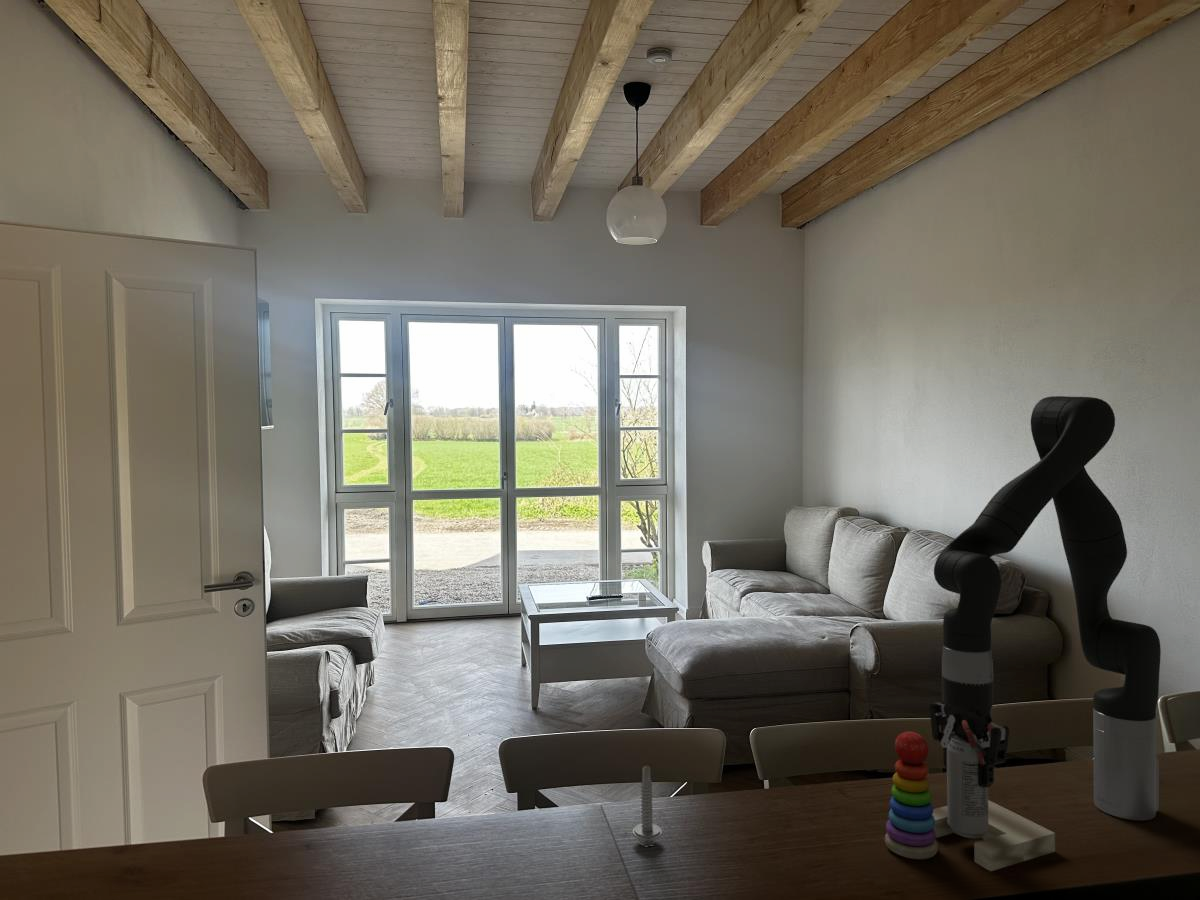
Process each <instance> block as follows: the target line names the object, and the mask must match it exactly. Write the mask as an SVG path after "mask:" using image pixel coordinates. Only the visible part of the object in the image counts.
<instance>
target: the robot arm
mask: <svg viewBox="0 0 1200 900" xmlns="http://www.w3.org/2000/svg"><path fill="white" fill-rule="evenodd" d="M1115 426H1116V416H1115V413H1114V410H1113V408H1112V407H1111V405H1110V404H1109V403H1108V402H1107V401H1105V400H1103V399H1101V398H1096V397H1092V396H1065V395H1063V396H1062V395H1060V396H1059V395H1055V396H1053V395H1052V396H1046V397H1044V398H1042V399H1040V400H1039V401H1038V402H1037V403H1035V406H1034V407H1033V409H1032V412H1031V417H1030V430H1031V435H1032V439H1033V442H1034V443H1033V444H1034V446H1035V448H1036V451H1037V455H1038V457H1039V459H1040V460H1039V461H1037V462H1036V463H1035V464H1034V465H1032V466H1031V467H1029V468H1027V470H1025V471H1024V472H1022V473H1021V474H1019V475H1018V476H1016V477H1015V478H1013V479H1012V480H1009V482H1007V483H1006V484H1005V485H1004V486H1002V487H1001V488H1000V489H998V490H997V492H996V493H995V494H994V495H993V496H992V497H991V499H990V500H989V501H988V502H987V504H986V505H985V506H984V508H983V509H982V511H981V512H980V513H979V515H978V517H977V518H976V520H975V521H974V522H973V523H972V524H971V525H970V526H968V527H967V528H966V529H965V530H963V531H962V532H961V533H960V534H959V535H958V536H957V537H955V538H954V539H953V540H952V541H951V542H950V543H948V544H947V545H946V546H945V547H944V548H943V549H942V551H941V552H940V553H939V555H938V556H937V558H936V561H935V563H934V567H933V575H934V576H933V577H934V579H935V581H936V583H937V584H938V585H939V586H940V587H941V588H943V589H944V590H946V591H949V592H952V593H955V594H958V595H959V600H958V605H957V607H956V608H955V607H954V608H951V609H948V610H947V611H946V612H945V613H944V616H943V620H942V623H943V625H942V628H943V629H942V632H943V633H942V634H943V635H942V637H943V638H942V642H943V646H942V655H941V699H942V701H940V702H938V701H937V702H933V703H931V704H929V707H928V708H929V715H930V725H931V733H932V738H933V740H934V741H938V742H939V743H940V745H941V747H942V748H943V764H944V769H945V771H947V745H948V743H949V742H950V740H951V735H957V736H960V737H964V738H965V739H967V740H969V742H970V745H971V748H972V749H973V750H975V752H976V755H977V758H978V760H979V763H978V785H979V786H980V787H982V788H986V787H988V788H989V787H992V785H993V784H994V782H995V773H994V772H995V767H994V766H995V765H998V764H1004V763H1006V761H1007V753H1008V745H1009V738H1010V737H1009V736H1010V729H1009V727H1008V726H1007V725H1001V726H1000V725H999V724H997V723H995V722H994V721H993V719H992V715H991V710H992V708H993V706H994V662H993V655H992V628H991V625H992V621H993V618H994V615H995V611H996V608H997V604H998V600H999V597H1000V592H1001V588H1002V576H1001V572H1000V568H999V565H997V563H996V562H995V560H994V559H993V558H992V557H994V556H997V555H1001V554H1007V553H1009V552H1011V551H1012V550H1014V549H1015V547H1016V545H1018V544H1019V542H1020V541H1021V539H1022V538H1023V536H1024V535H1025V533H1027V531H1028V529H1029V528H1030V526H1031V525H1032V524H1033V522H1035V519H1036V518H1037V517H1038V516H1039V515H1040V512H1042V510H1043V509H1044V508H1045V507H1046V506H1047V505H1048V503H1050V501H1051V500H1052V501H1053V504H1054V509H1055V512H1056V517H1057V522H1058V528H1059V532H1060V536H1061V537H1060V538H1061V541H1062V544H1063V545H1062V546H1063V550H1064V554H1065V557H1066V558H1065V559H1066V560H1067V564H1068V569H1069V573H1070V578H1071V583H1072V587H1073V592H1074V599H1075V605H1076V613H1077V622H1078V631H1079V638H1080V639H1079V641H1080V645H1081V649H1082V652H1083V656H1084V657H1085V660H1086V661H1087V662H1088V663H1089V665H1090V666H1092V667H1095V668H1097V669H1100V670H1103V671H1106V672H1110V673H1111V672H1112V673H1115V674H1116V673H1117V674H1120V675H1125V677H1124V683H1123V686H1120V687H1106V688H1102V689H1098V690H1096V691H1095V692H1094V693H1093V698H1092V703H1093V704H1092V707H1093V708H1092V709H1093V710H1092V712H1093V713H1092V718H1093V719H1092V721H1093V723H1092V724H1093V727H1092V728H1093V732H1092V734H1093V739H1092V740H1093V804H1094V806H1095V807H1096V808H1097V809H1099V810H1100V811H1102V812H1104V813H1106V814H1108V815H1111V816H1113V817H1116V818H1120V819H1123V820H1125V819H1126V820H1130V821H1149V820H1153V819H1154V818H1156V816H1157V812H1159V811H1160V803H1159V802H1160V798H1159V797H1160V796H1159V795H1160V793H1159V792H1160V791H1159V789H1160V787H1159V786H1160V785H1159V783H1160V782H1159V779H1160V776H1159V773H1160V771H1159V767H1160V766H1159V763H1160V761H1159V760H1160V759H1159V757H1158V756H1157V746H1156V745H1157V734H1156V733H1157V732H1156V731H1157V728H1156V727H1157V725H1156V721H1157V717H1156V716H1157V705H1158V699H1159V693H1160V691H1159V689H1160V669H1161V654H1162V653H1161V651H1162V649H1161V641H1160V638H1159V635H1158V633H1157V631H1156V630H1155V629H1154V628H1153V627H1152V626H1149V625H1147V624H1142V623H1137V622H1133V621H1132V622H1131V621H1126V620H1120V619H1116V618H1112V617H1111V615H1110V611H1109V608H1108V606H1109V605H1108V594H1109V591H1110V589H1111V588H1112V585H1113V584H1114V582H1115V580H1116V579H1117V577H1118V576H1119V574H1120V572H1121V571H1122V569H1123V567H1124V565H1125V563H1126V561H1127V557H1128V548H1127V542H1126V538H1125V532H1124V529H1123V523H1122V520H1121V517H1120V516H1119V513H1118V512H1117V510H1116V509H1115V507H1114V505H1113V504H1112V503H1111V501H1110V500H1109V499H1108V497H1107V496H1106V495H1105V494H1104V492H1103V491H1102V490H1101V489H1100V488H1099V486H1098V485H1097V484H1096V482H1094V480H1093V479H1092V478H1091V476H1090V474H1089V472H1087V469H1086V467H1085V466H1087V465H1088V464H1089V463H1090V461H1092V459H1094V458H1095V456H1097V455H1098V454H1099V453H1100V452H1101V450H1103V448H1105V446H1106V445H1107V444H1108V442H1109V441H1110V439H1111V438H1112V436H1113V434H1114V431H1115ZM980 739H983V743H979V742H978V741H977V740H980ZM983 748H984V750H985V752H986V755H987V756H985V754H984V751H983Z"/></svg>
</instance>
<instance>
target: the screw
mask: <svg viewBox="0 0 1200 900" xmlns="http://www.w3.org/2000/svg"><path fill="white" fill-rule="evenodd" d="M641 768H642V770H641V771H642V773H641V774H642V776H641V781H642V782H641V783H640V784H641V786H640V792H641V794H640V795H641V797H640V799H641V800H640V802H641V804H640V805H641V808H640V809H641V811H640V813H641V819H640V820H641V823H639V824H636V825H635V827H633V829H632V836H633V837H635V838H636V839H638V843H639V842H640V843H642V844H643V845H644V846H650V845H654V846H655V844H656V842H657V841H656V840H658V839H659V838H660V837H661V836H662V834H663V830H662V829H661V827H660V826H659V825H657V824H655V823H653V822H654V821H653V819H654V818H653V784H652V783H653V782H652V779H651V767H650V766H648V765H644V766H643V767H641ZM655 841H656V842H655ZM654 843H655V844H654Z"/></svg>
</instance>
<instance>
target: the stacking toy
mask: <svg viewBox="0 0 1200 900" xmlns="http://www.w3.org/2000/svg"><path fill="white" fill-rule="evenodd" d="M894 750H895V753H896V755H897V757H898V758H899V760H897V761H896V762H895V764H894V769H895V770H894V771H895V773H894V774H893V776H892V779H891V780H892V783H893V785H892V786H891V795H892V797H891V798H890V800H889V805H890V809H889V812H888V820H887V821H886V823H885V830H886V833H885V835H884V842H885V845H886V847H887V848H888V849H889V850H890V851H891V852H893V853H895V854H896V855H898V856H901V857H903V858H906V859H911V860H927V859H930V858H932V857H934V856H935V855H936V854H937V853H938V850H939V844H938V841H937V840H936V838H935V837H936V833H935V830H934V828H933V827H934V825H935V819H934V816H933V815H932V814H933V809H934V806H933V804H932V802H931V801H932V792H931V791H930V789H929V787H930V781H929V779H928V778H927V776H928V774H929V768H928V765H927V764H926V763H925V761H926V759H927V757H928V756H929V744H928V742H927V741H926V739H925V738H924V737H923V736H922V735H921V734H920V733H917V732H914V731H910V730H909V731H904V732H902V733H900V734H899V735H898V736H897V737H896V739H895V742H894Z"/></svg>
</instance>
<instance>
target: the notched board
mask: <svg viewBox="0 0 1200 900" xmlns="http://www.w3.org/2000/svg"><path fill="white" fill-rule="evenodd" d="M932 815H933V816H934V819H935V825H934V827H933V828H934V830H935V833H936V837H935V839H937V838H941V837H944V836H948V835H951V834H952V835H953V834H955V833H954V832H953V831H952V829H951V826H950V825H949V824H948V818H947V805H944V806H941V807H936V808H933V814H932ZM988 824H989V829H988V831H987V832H985V835H984V836H983V837H981V838H980V839H982V840H979V841H976V842H974V847H973V848H974V849H973V851H974V853H973V854H974V858H973V859H974V861H973V862H974V863H976V864H977V865H979V866H981V867H982V868H984V869H985V870H987V871H989V872H993V871H997V870H1000V869H1003V868H1007V867H1009V866H1013V865H1016V864H1020V863H1022V862H1027V861H1030V860H1033V859H1036V858H1039V857H1042V856H1045V855H1049V854H1052V853H1055V852H1056V833H1055V832H1054V831H1052V830H1050V829H1048V828H1046V827H1044V826H1042V825H1039V824H1038V823H1035V822H1033V821H1032V820H1030V819H1027V818H1026V817H1024V816H1022V815H1019V814H1017V813H1015V812H1014V811H1011V810H1010V809H1007V808H1005V807H1004V806H1001V805H999V804H997V803H995V802H993V801H991V800H990V799H988Z"/></svg>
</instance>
